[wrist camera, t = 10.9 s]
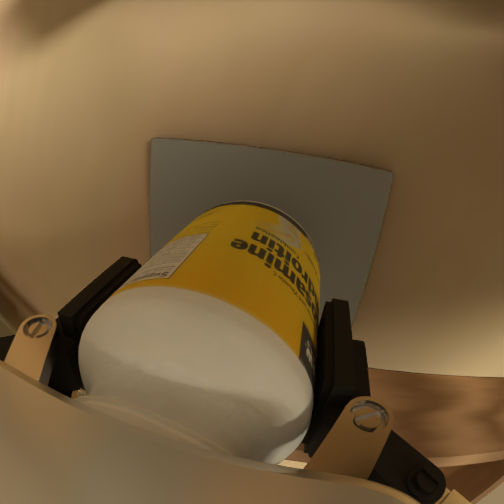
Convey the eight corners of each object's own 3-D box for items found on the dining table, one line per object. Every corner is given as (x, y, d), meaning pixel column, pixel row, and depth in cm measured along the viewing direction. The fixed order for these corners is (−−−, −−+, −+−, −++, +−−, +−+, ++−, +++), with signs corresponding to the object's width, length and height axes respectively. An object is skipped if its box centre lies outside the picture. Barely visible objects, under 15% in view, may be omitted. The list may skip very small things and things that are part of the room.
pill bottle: (326, 318, 15) (306, 566, 5) (202, 324, 17) (99, 519, 7) (310, 185, 13) (268, 465, 3) (168, 206, 15) (-39, 376, 4)
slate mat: (391, 171, 14) (393, 173, 14) (345, 336, 19) (345, 342, 18) (156, 137, 16) (151, 138, 15) (156, 298, 20) (153, 303, 20)
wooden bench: (517, 377, 17) (545, 442, 11) (441, 466, 23) (448, 521, 17) (241, 346, 20) (211, 432, 14) (229, 448, 26) (209, 510, 20)
